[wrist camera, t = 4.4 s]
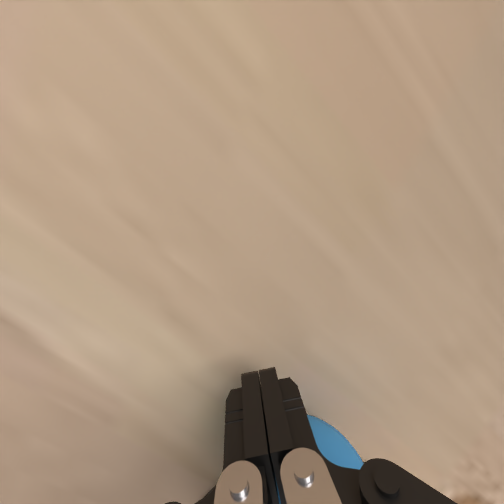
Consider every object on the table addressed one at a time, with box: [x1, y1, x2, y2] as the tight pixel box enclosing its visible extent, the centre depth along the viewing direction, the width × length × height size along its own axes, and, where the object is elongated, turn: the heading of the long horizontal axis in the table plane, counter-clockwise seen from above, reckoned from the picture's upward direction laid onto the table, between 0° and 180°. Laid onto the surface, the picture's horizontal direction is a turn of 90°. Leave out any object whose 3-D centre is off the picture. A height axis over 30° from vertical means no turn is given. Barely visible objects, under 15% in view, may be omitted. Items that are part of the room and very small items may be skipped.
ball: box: [276, 415, 363, 504], centre depth 11 cm, size 6×6×6 cm
